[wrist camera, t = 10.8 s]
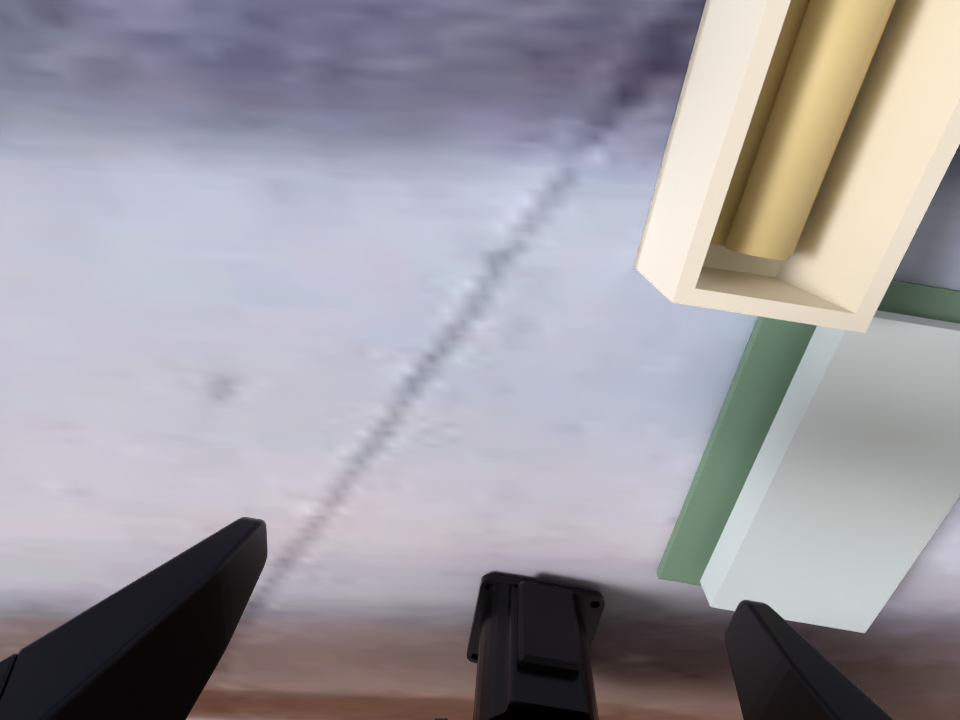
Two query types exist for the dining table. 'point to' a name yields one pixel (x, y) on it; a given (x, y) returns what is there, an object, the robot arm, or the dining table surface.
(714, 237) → the pencil box
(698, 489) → the felt mat
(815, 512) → the lid
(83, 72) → the dining table surface
